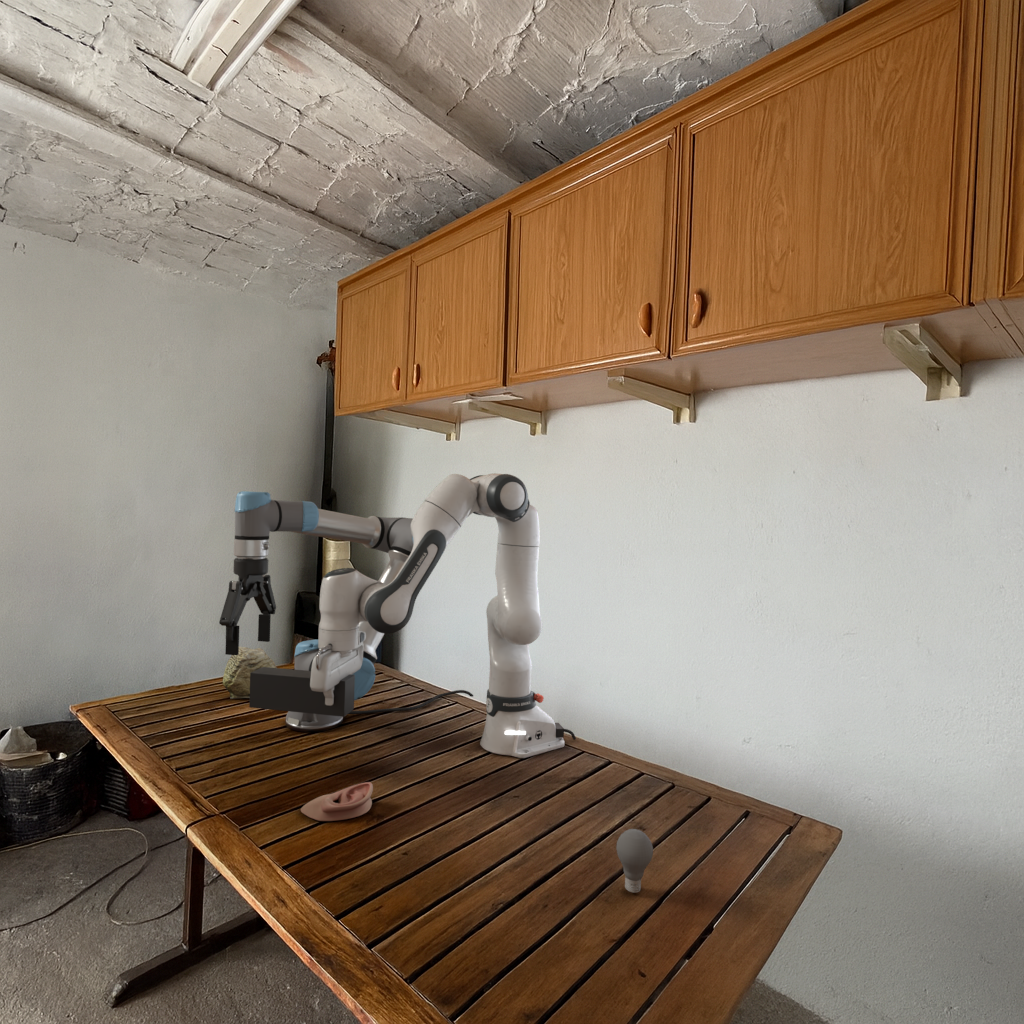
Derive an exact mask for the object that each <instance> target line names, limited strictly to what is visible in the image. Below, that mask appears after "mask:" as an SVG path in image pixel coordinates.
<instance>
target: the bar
mask: <svg viewBox="0 0 1024 1024" xmlns="http://www.w3.org/2000/svg"><path fill="white" fill-rule="evenodd" d="M310 679H311V671H305V670H294V669H291V668H280V667H276V668H270V667H262V668H260V669H258V670H255V671H253V672H251V673H250V698H249V704H248V706H249V707H248V708H249V709H250V708H251V709H253V708H254V709H263V710H270V711H271V710H273V711H280V712H281V711H282V712H288V711H291V712H301V713H311V714H321V715H331V716H342V717H343V718H344V717H346V716H347V715H349V714H348V713H350V712H351V711H354V709H355V700H354V689H355V675H351V674H349V675H348V676H346V677H345V678H343V679H342V680H340V682H339V683H338V684H337V685H335V686H334V690H333V694H334V696H335V703H334V704H333V705H331V706H330V705H326V704H325V696H324V693H323V692H317V691H312V690H311V687H310Z"/></svg>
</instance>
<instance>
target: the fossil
mask: <svg viewBox="0 0 1024 1024" xmlns="http://www.w3.org/2000/svg"><path fill="white" fill-rule="evenodd" d="M262 667H270V668H277V665H276V663H275V662H274V660H273V659H272V658H271V657H270V656H269V655H268V654H267V653H266V652H265V650H264V649H263V648H260V647H258V648H251V647H247V646H246V647H245V646H239V655H230V657H229V659H228V660H227V663H226V666H225V668H224V671H223V675H222V676H223V677H222V685H223V687H224V688H225V690H226V691H228V693H229V698H230V699H250V673H251V672H253V671H255V670H258V669H260V668H262Z"/></svg>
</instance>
